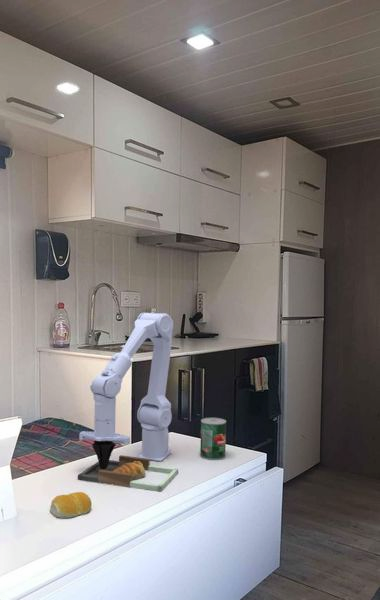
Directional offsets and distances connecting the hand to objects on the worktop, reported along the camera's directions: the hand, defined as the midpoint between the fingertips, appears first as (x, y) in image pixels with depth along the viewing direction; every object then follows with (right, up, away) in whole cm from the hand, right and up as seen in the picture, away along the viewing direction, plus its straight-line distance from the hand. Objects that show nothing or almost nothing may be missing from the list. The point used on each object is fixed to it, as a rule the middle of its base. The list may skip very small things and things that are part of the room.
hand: (103, 467), depth 137 cm
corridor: (+6, -2, -2) cm, 6 cm away
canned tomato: (+31, -2, +17) cm, 35 cm away
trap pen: (-1, -1, 0) cm, 2 cm away
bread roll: (-3, -2, -24) cm, 25 cm away
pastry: (+7, -2, -3) cm, 8 cm away
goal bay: (+14, -2, -4) cm, 15 cm away
